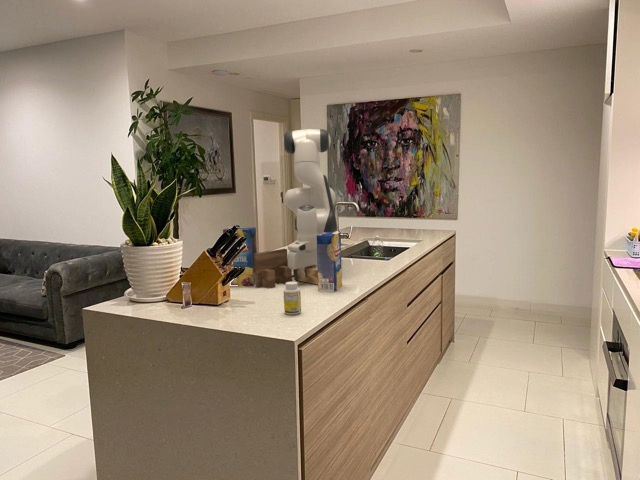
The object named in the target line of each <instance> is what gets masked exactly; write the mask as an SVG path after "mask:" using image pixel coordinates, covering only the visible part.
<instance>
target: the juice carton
mask: <svg viewBox="0 0 640 480" xmlns="http://www.w3.org/2000/svg"><path fill="white" fill-rule="evenodd" d="M231 228H232V227H227V228H225V229H222V235H223V234H224V233H225V232H226V231H227V230H229V229H231ZM238 228H239V229H238V231H237V235H238V236H240V237H246V238H247V240H246V242H245V244H246V246H247V248H246V249H245V250H244V251H243V252H242V253H241V254H240V255H239V256H238V257H237V258H236V259H235V260H234V261H233V266H234V267H245V270H244V272H243V273H242V274H241V275H239V276H238V277H237V278H236V279H234V280H233V281H232V282H231V285H238V286H252V287H253V288H254V287H256V285H255V266H254V253H258V251H257V250H258V248H257V228H256V227H255V226H254V227H250V226H249V227H238Z"/></svg>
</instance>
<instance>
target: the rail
mask: <svg viewBox="0 0 640 480" xmlns="http://www.w3.org/2000/svg"><path fill="white" fill-rule="evenodd" d="M304 271H305V273H307V277H305V278H302V273H301V272H300V270H299V269H294V280H295V281H298V282H299V281H300V282H304V283H309V284H313V285H317V286H318V268H317V267H313V266H308V267H305V270H304Z"/></svg>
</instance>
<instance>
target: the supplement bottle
mask: <svg viewBox="0 0 640 480" xmlns="http://www.w3.org/2000/svg"><path fill="white" fill-rule="evenodd" d="M301 298H302V297H301V289H300V287H298V282H297V281H292V282H287V283H286V284H285V288H284V289H283V304H284V306H283V307H284V314H286V315H290V316H295V315H298V314H301V312H302V299H301Z"/></svg>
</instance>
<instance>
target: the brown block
mask: <svg viewBox="0 0 640 480" xmlns="http://www.w3.org/2000/svg"><path fill="white" fill-rule="evenodd" d="M254 266H255V287H256V288H267V289H273V288H276V284H283V285H286V283H287V282H293V278H292V275H293V269H290V268H289V267H288V248H281V249H280V248H279V249H272V250H268V251H267V250H266V251H260V252H257V253H254Z"/></svg>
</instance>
